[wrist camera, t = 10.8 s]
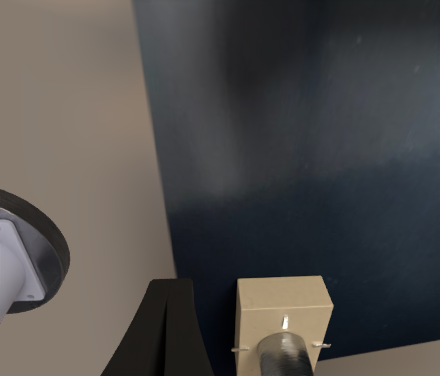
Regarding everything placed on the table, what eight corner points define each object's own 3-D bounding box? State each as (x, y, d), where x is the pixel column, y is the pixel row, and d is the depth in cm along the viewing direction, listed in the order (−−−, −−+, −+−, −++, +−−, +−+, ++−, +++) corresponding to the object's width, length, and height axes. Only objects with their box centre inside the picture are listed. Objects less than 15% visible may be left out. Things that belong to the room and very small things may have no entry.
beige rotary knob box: (309, 343, 31) (319, 376, 29) (228, 347, 31) (230, 381, 28) (328, 274, 26) (342, 307, 23) (229, 278, 26) (233, 312, 23)
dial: (308, 331, 25) (324, 382, 22) (301, 359, 27) (314, 408, 24) (258, 333, 25) (267, 384, 22) (255, 360, 27) (262, 411, 24)
